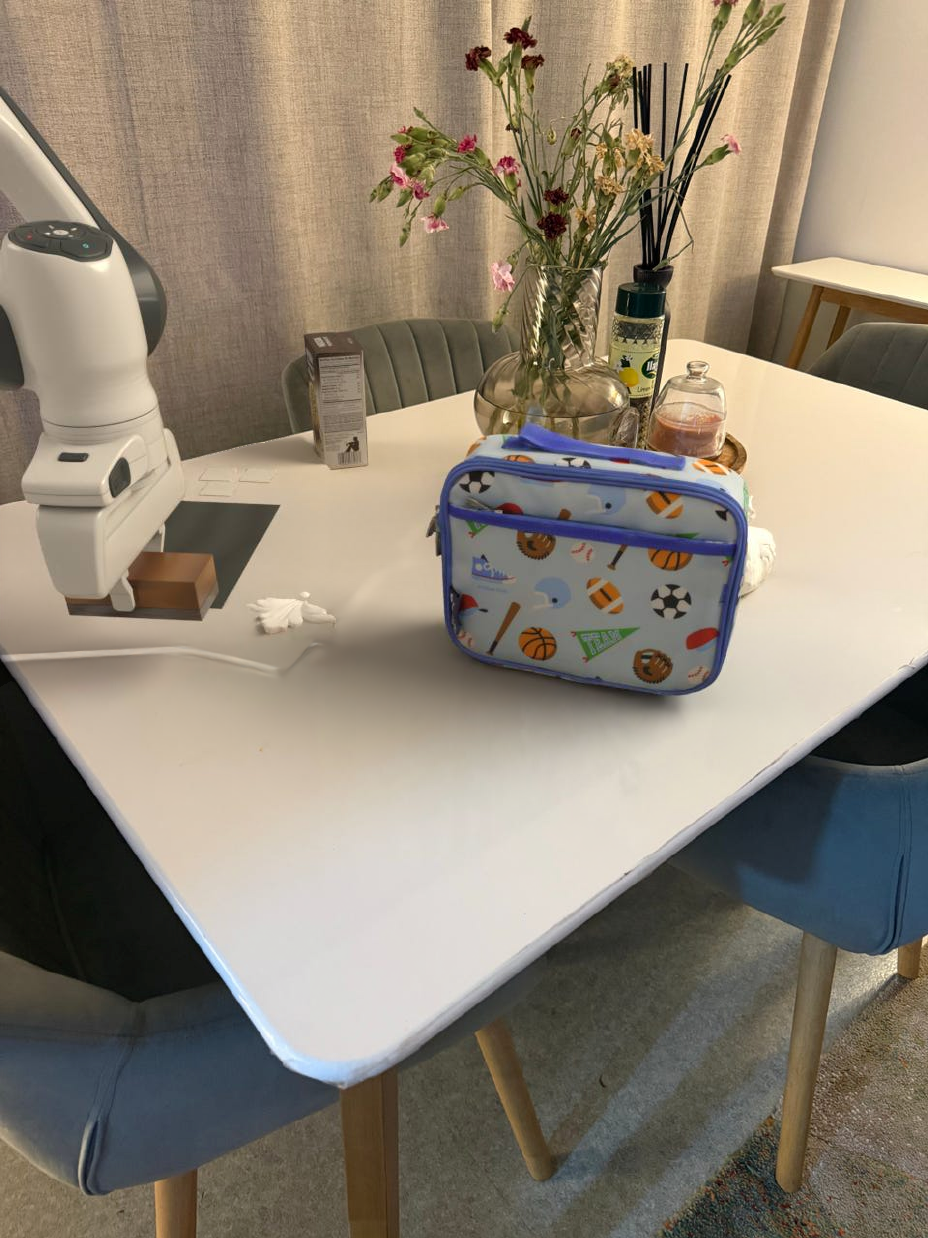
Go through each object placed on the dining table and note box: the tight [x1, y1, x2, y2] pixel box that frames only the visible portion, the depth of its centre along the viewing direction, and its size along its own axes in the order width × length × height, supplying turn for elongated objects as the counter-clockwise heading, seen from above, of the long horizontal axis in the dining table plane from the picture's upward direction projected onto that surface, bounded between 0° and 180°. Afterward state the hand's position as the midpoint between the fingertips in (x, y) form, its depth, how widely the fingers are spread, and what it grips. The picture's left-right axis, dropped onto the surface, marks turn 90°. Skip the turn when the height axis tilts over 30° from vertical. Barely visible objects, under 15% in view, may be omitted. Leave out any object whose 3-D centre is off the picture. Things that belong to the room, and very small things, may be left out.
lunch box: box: [425, 421, 750, 696], centre depth 78 cm, size 28×10×22 cm, turn 73°
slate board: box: [163, 500, 281, 610], centre depth 100 cm, size 18×26×1 cm
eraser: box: [63, 551, 219, 622], centre depth 79 cm, size 12×5×4 cm, turn 86°
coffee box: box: [303, 331, 369, 470], centre depth 120 cm, size 9×6×16 cm
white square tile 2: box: [238, 468, 278, 484], centre depth 117 cm, size 4×4×1 cm
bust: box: [741, 495, 777, 596], centre depth 94 cm, size 12×8×11 cm
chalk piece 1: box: [198, 467, 238, 482], centre depth 117 cm, size 4×4×1 cm
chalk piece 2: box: [198, 481, 240, 498], centre depth 113 cm, size 4×4×1 cm
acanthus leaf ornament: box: [246, 591, 337, 635], centre depth 89 cm, size 8×7×2 cm
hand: (141, 588), depth 79 cm, fingers closed on eraser, 5 cm apart
